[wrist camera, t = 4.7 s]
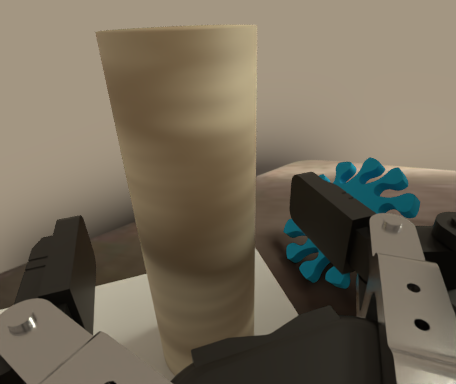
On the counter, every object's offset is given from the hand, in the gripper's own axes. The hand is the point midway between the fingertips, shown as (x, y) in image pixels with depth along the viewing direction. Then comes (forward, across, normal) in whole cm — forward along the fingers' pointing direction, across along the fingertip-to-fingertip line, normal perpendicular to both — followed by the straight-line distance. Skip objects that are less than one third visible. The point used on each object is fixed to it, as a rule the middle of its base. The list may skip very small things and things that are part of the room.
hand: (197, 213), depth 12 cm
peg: (0, 0, +8) cm, 8 cm away
